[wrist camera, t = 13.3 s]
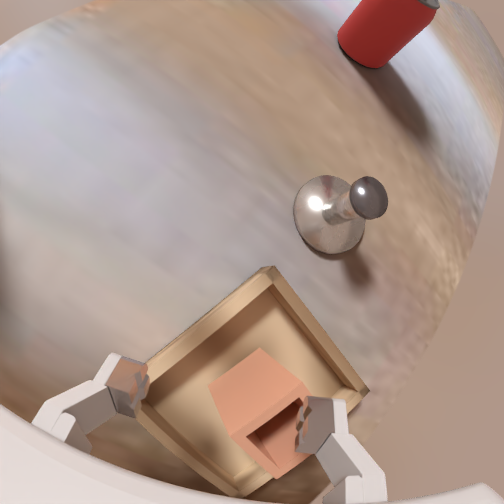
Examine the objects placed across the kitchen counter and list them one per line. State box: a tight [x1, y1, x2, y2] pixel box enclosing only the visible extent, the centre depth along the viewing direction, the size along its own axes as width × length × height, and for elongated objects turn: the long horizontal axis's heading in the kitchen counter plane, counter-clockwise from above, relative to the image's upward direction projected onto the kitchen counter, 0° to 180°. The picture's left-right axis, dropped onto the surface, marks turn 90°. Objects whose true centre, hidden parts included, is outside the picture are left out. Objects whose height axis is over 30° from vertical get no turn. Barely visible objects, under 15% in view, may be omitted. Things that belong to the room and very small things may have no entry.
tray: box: [135, 266, 370, 499], centre depth 20 cm, size 14×13×3 cm
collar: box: [207, 348, 312, 479], centre depth 17 cm, size 5×5×7 cm
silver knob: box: [293, 175, 388, 254], centre depth 22 cm, size 6×6×6 cm
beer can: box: [337, 0, 440, 68], centre depth 22 cm, size 7×7×12 cm
